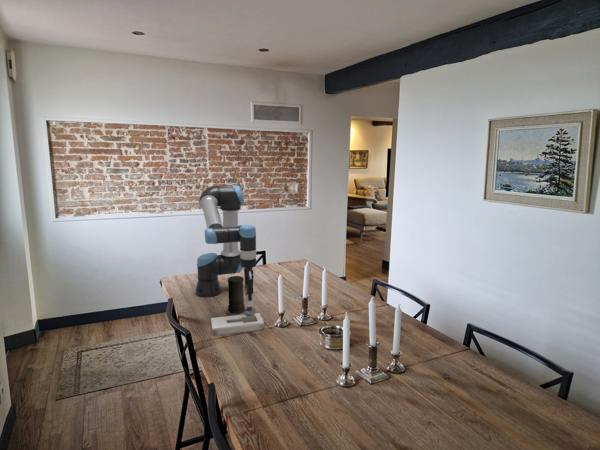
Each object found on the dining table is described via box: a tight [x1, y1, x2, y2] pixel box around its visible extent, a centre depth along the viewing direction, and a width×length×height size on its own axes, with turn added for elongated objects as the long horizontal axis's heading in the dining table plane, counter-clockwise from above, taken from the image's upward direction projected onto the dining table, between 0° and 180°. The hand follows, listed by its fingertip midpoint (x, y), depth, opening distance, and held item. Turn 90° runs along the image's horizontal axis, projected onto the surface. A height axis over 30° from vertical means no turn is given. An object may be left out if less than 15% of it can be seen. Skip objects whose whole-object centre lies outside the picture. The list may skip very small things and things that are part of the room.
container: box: [227, 275, 246, 315], centre depth 208 cm, size 9×9×18 cm
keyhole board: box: [210, 312, 265, 336], centre depth 190 cm, size 12×24×3 cm, turn 106°
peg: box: [243, 284, 256, 316], centre depth 189 cm, size 5×5×15 cm
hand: (249, 305), depth 190 cm, fingers closed on peg, 2 cm apart
